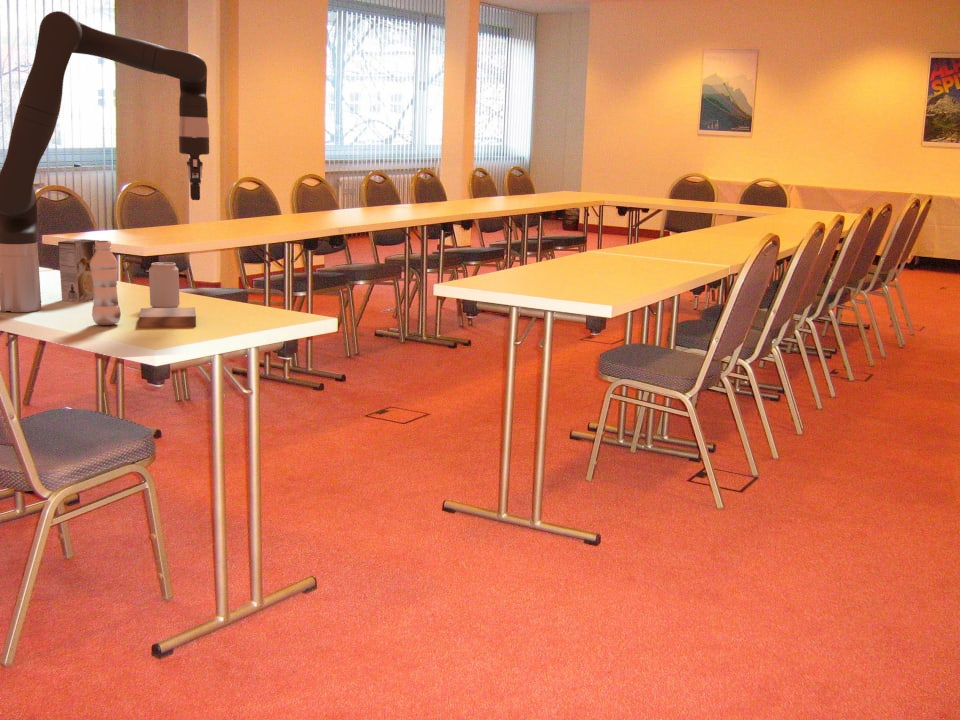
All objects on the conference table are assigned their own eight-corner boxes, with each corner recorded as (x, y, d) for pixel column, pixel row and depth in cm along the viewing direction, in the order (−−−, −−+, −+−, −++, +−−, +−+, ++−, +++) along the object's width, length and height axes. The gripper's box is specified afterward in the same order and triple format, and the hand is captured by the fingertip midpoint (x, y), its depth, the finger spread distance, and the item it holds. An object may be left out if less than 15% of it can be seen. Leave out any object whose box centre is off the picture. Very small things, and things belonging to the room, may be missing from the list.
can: (171, 310, 261) (169, 265, 259) (144, 309, 263) (143, 263, 260) (184, 306, 268) (183, 262, 266) (159, 304, 270) (157, 260, 267)
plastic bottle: (93, 328, 235) (88, 243, 231) (91, 323, 241) (87, 240, 237) (122, 326, 238) (118, 242, 233) (120, 321, 244) (116, 239, 239)
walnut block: (139, 327, 237) (138, 317, 237) (141, 318, 249) (140, 308, 249) (196, 326, 241) (195, 316, 240) (195, 317, 253) (195, 307, 253)
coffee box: (85, 296, 280) (82, 238, 277) (103, 297, 278) (100, 240, 275) (60, 300, 272) (57, 241, 269) (79, 302, 270) (75, 242, 266)
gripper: (178, 134, 263) (180, 197, 266) (179, 134, 250) (180, 200, 253) (208, 136, 265) (209, 197, 269) (210, 136, 252) (211, 201, 255)
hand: (195, 198), depth 261 cm, fingers open, 8 cm apart
